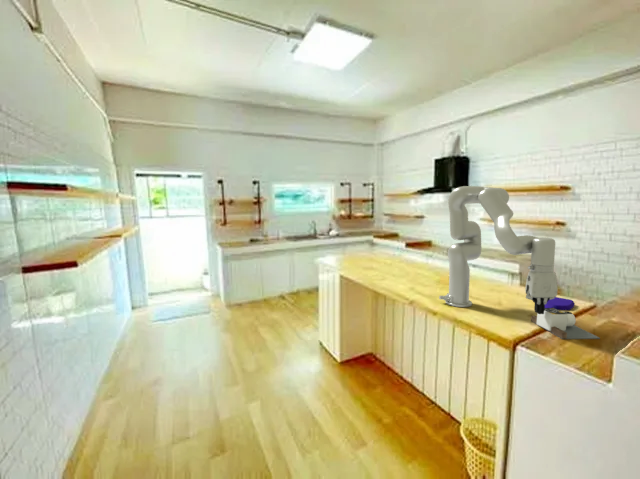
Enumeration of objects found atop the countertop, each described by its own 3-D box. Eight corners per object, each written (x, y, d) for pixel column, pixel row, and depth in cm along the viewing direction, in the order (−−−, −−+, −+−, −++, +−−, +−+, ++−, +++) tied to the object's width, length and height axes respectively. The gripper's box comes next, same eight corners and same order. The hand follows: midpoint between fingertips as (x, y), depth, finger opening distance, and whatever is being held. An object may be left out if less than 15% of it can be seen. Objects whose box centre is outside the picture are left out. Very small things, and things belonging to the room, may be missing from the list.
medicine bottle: (537, 307, 130) (563, 307, 131) (535, 324, 130) (561, 323, 132) (551, 314, 123) (579, 313, 124) (549, 331, 123) (577, 330, 125)
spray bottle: (550, 295, 162) (534, 307, 147) (576, 300, 153) (562, 313, 138) (550, 301, 162) (533, 313, 147) (576, 306, 154) (562, 319, 139)
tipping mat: (562, 339, 118) (562, 332, 117) (531, 321, 136) (531, 315, 135) (599, 338, 117) (600, 332, 117) (563, 320, 135) (564, 315, 135)
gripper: (529, 271, 120) (526, 316, 122) (568, 270, 120) (564, 316, 122) (517, 267, 128) (514, 310, 130) (554, 266, 127) (551, 309, 129)
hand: (539, 312), depth 126 cm, fingers closed
